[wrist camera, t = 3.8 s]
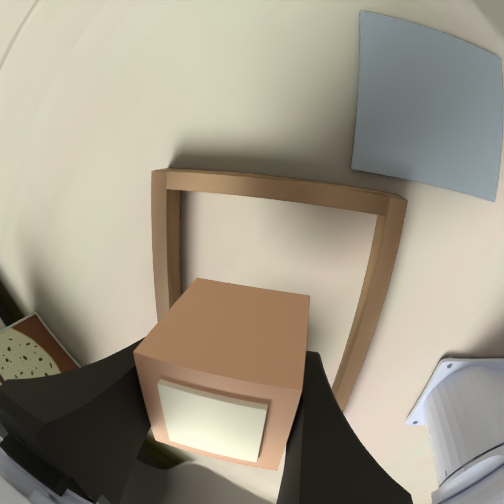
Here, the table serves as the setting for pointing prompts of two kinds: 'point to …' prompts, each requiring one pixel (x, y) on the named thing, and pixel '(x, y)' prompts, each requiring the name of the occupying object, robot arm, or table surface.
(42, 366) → the food container
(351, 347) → the walnut bin
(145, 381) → the labelled block
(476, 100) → the slate mat
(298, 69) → the table surface
